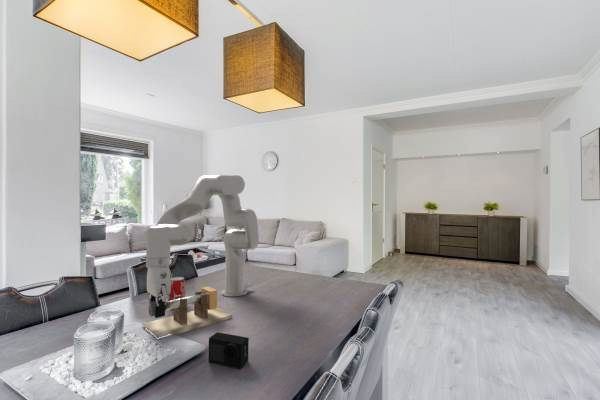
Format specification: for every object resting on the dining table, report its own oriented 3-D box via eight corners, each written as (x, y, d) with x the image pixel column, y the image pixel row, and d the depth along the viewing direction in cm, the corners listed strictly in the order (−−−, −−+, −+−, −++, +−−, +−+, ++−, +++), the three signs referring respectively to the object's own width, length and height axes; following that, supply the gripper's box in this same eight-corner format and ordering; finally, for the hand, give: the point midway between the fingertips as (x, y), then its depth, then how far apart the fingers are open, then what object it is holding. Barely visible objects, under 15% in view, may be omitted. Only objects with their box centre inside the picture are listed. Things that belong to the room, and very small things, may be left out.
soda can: (178, 310, 124) (179, 280, 124) (163, 308, 125) (164, 279, 126) (188, 304, 131) (189, 276, 131) (173, 303, 132) (174, 275, 133)
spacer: (207, 303, 121) (208, 286, 121) (216, 308, 116) (217, 290, 116) (200, 305, 119) (201, 287, 119) (209, 310, 114) (210, 291, 114)
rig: (213, 308, 126) (214, 284, 127) (232, 317, 117) (232, 292, 117) (142, 326, 107) (143, 298, 107) (157, 339, 97) (157, 308, 97)
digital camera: (205, 364, 83) (205, 339, 83) (216, 355, 88) (217, 331, 88) (238, 372, 79) (238, 345, 80) (248, 362, 85) (248, 337, 85)
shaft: (211, 299, 121) (211, 287, 121) (217, 302, 117) (218, 290, 117) (148, 314, 104) (148, 300, 104) (153, 318, 100) (153, 303, 100)
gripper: (179, 264, 100) (178, 318, 100) (160, 257, 112) (158, 305, 112) (155, 267, 95) (154, 324, 95) (138, 259, 107) (136, 310, 107)
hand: (156, 314), depth 103 cm, fingers closed on shaft, 4 cm apart
